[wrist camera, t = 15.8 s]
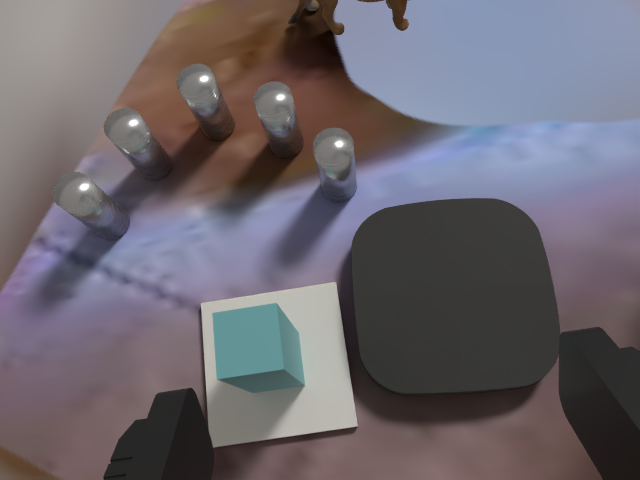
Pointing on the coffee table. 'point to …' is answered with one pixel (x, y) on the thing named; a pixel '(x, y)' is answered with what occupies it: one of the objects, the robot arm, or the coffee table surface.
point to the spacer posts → (216, 124)
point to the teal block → (257, 349)
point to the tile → (289, 403)
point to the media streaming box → (453, 298)
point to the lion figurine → (396, 3)
